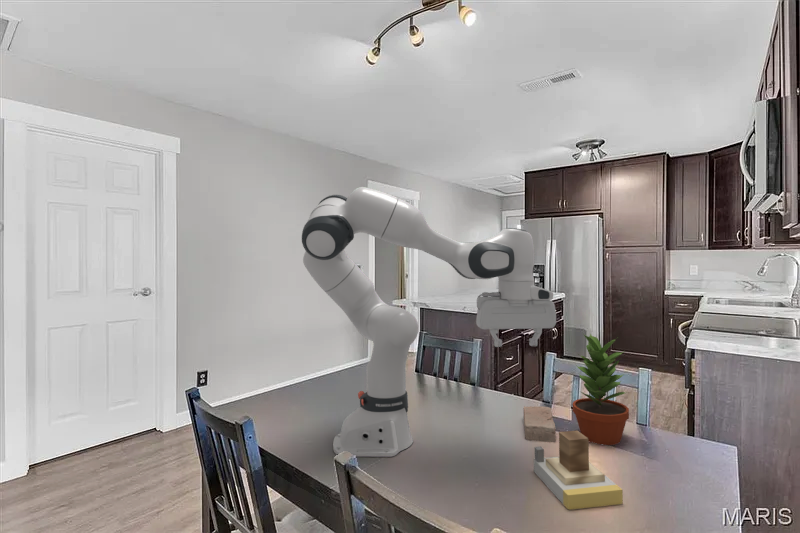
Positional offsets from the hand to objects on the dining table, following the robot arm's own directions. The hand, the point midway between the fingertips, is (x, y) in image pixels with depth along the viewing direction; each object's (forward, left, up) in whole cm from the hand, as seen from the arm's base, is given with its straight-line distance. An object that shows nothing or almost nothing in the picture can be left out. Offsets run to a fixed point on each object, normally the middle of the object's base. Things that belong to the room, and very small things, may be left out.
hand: (515, 346), depth 109 cm
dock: (+7, -15, -29) cm, 33 cm away
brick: (+13, +16, -29) cm, 36 cm away
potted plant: (+28, +8, -29) cm, 41 cm away
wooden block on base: (+7, -15, -26) cm, 31 cm away
